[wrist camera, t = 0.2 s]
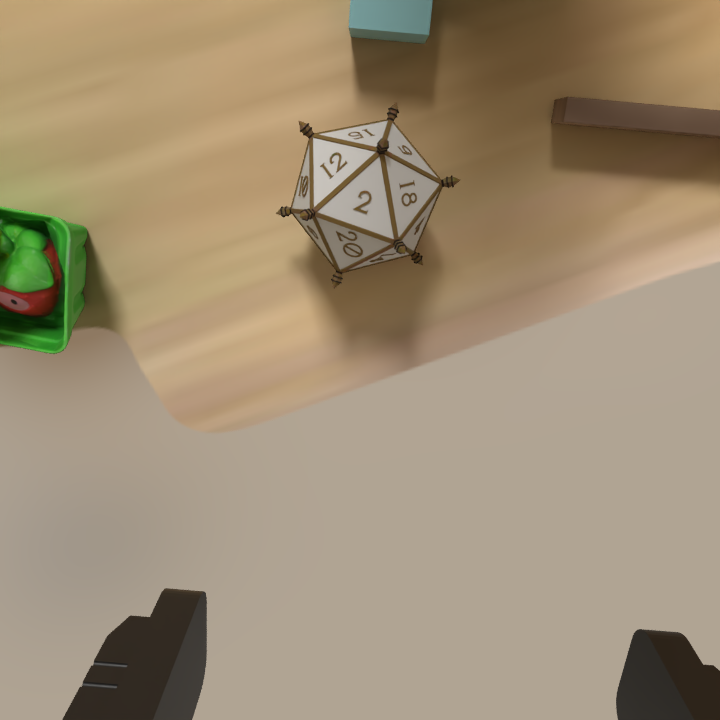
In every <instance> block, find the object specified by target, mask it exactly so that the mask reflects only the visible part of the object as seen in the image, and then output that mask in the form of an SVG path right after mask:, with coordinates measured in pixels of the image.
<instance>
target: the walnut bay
mask: <svg viewBox="0 0 720 720" xmlns="http://www.w3.org/2000/svg"><path fill="white" fill-rule="evenodd" d="M551 123H557V124H568V125H579V126H590V127H602V128H613V129H624V130H635V131H646V132H657V133H668V134H679V135H690V136H701V137H713V138H720V111H719V110H708V109H697V108H686V107H675V106H664V105H653V104H642V103H630V102H619V101H608V100H597V99H586V98H575V97H565V98H561V99H557V100H555V103H554V109H553V115H552V121H551Z"/></svg>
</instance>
